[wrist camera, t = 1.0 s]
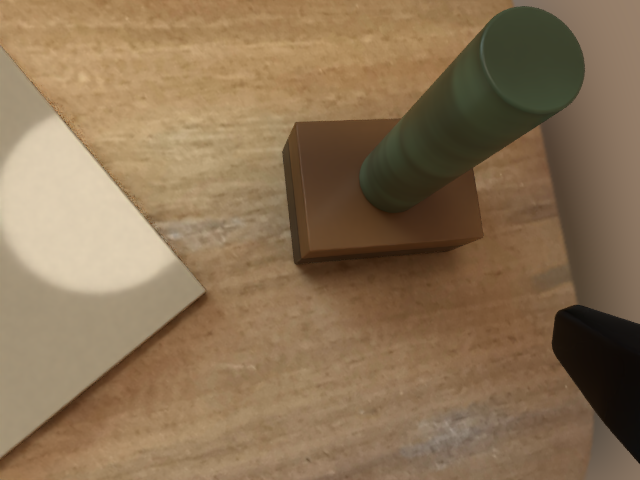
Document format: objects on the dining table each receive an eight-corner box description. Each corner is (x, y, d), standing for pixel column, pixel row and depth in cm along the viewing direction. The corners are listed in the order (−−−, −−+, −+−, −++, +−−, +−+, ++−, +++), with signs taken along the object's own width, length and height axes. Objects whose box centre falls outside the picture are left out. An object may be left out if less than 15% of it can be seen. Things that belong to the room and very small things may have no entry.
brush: (448, 251, 27) (689, 158, 14) (294, 264, 25) (401, 174, 12) (432, 143, 27) (646, -40, 15) (281, 150, 26) (370, -49, 13)
